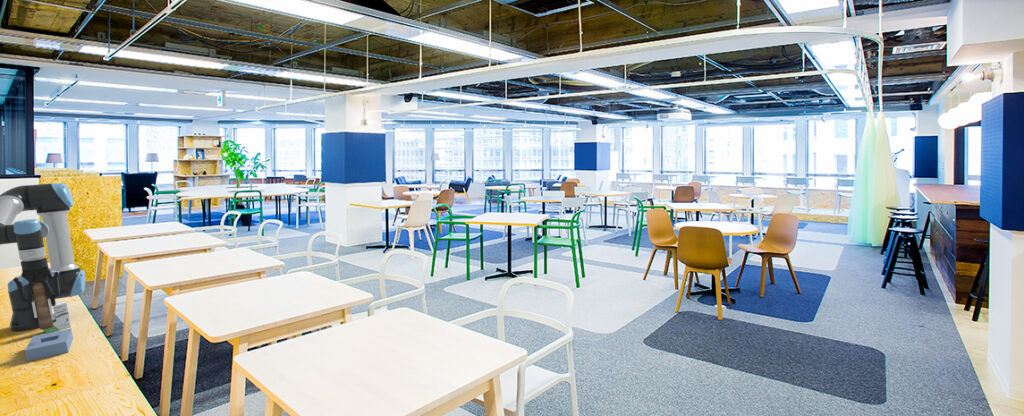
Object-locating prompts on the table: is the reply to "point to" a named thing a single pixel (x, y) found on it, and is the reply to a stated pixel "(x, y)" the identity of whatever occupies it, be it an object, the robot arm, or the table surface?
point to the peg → (42, 306)
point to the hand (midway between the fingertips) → (44, 315)
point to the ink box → (59, 317)
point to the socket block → (49, 344)
